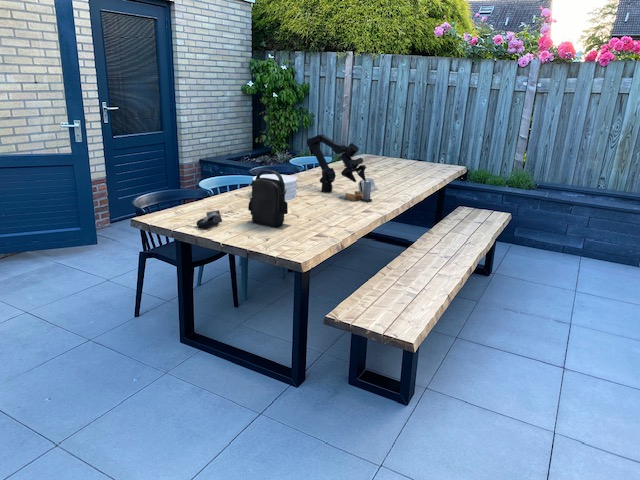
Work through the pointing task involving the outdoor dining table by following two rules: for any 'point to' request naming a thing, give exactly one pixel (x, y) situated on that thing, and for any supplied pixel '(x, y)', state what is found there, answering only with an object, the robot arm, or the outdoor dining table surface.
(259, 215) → the black backpack
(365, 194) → the grey piece
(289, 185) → the plate stack
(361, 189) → the hinge
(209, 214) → the caster wheel
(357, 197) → the keeper cradle
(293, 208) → the outdoor dining table surface
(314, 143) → the robot arm
